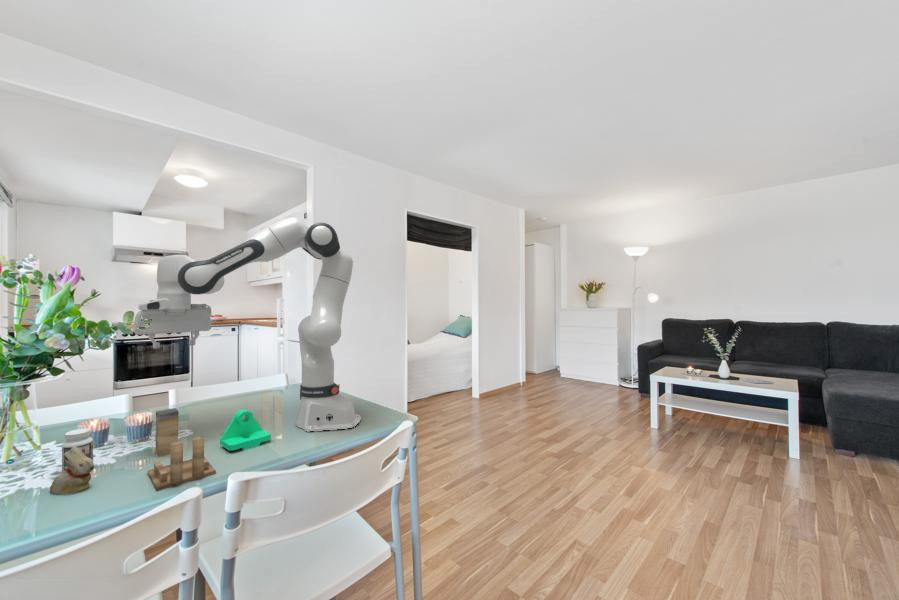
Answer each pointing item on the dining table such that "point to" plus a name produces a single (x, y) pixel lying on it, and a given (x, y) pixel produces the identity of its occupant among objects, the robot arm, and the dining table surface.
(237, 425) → the camera mount
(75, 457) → the chocolate bunny
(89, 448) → the pill bottle
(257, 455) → the dining table surface
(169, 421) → the brown tall rectangular block
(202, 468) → the wooden twin towers
